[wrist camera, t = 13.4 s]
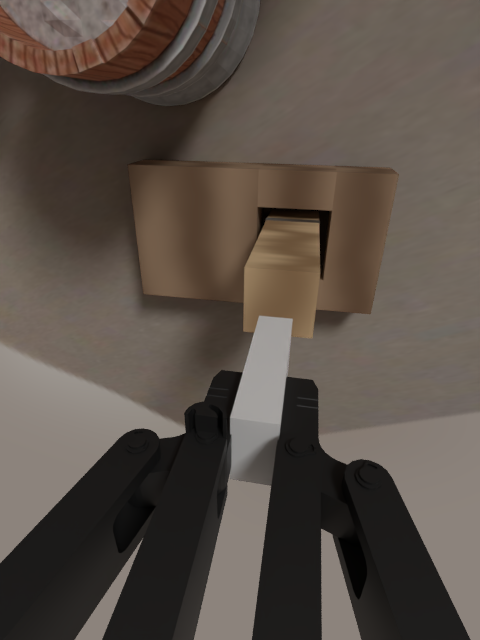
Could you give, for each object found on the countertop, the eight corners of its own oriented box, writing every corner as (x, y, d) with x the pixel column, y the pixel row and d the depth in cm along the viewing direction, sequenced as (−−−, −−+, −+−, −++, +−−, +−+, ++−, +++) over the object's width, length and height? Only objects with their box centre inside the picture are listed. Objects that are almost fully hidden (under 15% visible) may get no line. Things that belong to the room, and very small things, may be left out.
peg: (268, 254, 34) (242, 332, 22) (270, 208, 32) (243, 266, 20) (314, 257, 34) (313, 339, 22) (319, 210, 32) (321, 272, 20)
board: (157, 279, 38) (143, 294, 34) (145, 159, 32) (127, 164, 29) (365, 296, 35) (370, 314, 32) (390, 167, 29) (398, 174, 26)
